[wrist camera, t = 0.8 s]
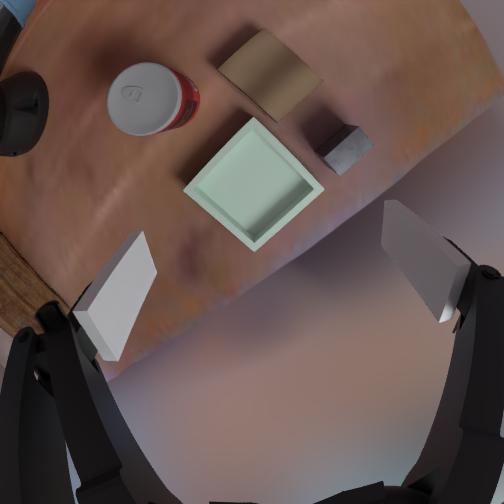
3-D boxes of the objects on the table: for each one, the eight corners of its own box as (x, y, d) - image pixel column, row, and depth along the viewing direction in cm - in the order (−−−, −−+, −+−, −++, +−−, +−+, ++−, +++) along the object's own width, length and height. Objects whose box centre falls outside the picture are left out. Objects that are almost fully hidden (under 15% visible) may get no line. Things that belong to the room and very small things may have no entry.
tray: (187, 185, 36) (183, 190, 34) (253, 116, 32) (253, 116, 30) (254, 243, 41) (254, 252, 39) (320, 184, 36) (324, 189, 34)
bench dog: (314, 151, 34) (323, 158, 30) (345, 124, 32) (359, 126, 28) (328, 167, 35) (339, 176, 31) (359, 140, 33) (373, 145, 29)
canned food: (150, 72, 28) (113, 61, 19) (207, 78, 29) (189, 64, 20) (139, 125, 32) (100, 132, 22) (194, 132, 33) (171, 141, 23)
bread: (-7, 215, 37) (-47, 244, 25) (81, 311, 49) (54, 356, 37) (-15, 247, 41) (-47, 276, 29) (65, 332, 52) (41, 372, 41)
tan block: (219, 72, 29) (217, 69, 27) (263, 34, 27) (264, 27, 24) (275, 121, 33) (277, 122, 30) (318, 83, 30) (323, 81, 27)
